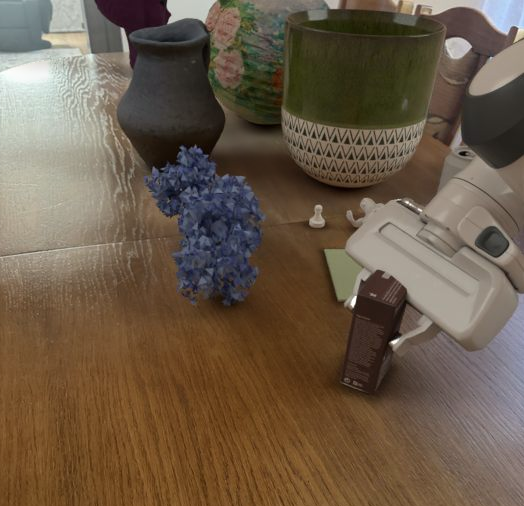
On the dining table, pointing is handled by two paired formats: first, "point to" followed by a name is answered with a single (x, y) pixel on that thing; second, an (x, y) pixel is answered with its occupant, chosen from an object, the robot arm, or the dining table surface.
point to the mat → (342, 272)
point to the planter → (357, 91)
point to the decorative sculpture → (209, 225)
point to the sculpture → (134, 17)
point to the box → (373, 331)
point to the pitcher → (171, 94)
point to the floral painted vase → (250, 54)
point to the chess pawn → (317, 218)
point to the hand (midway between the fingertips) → (370, 330)
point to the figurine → (369, 210)
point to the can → (455, 163)
